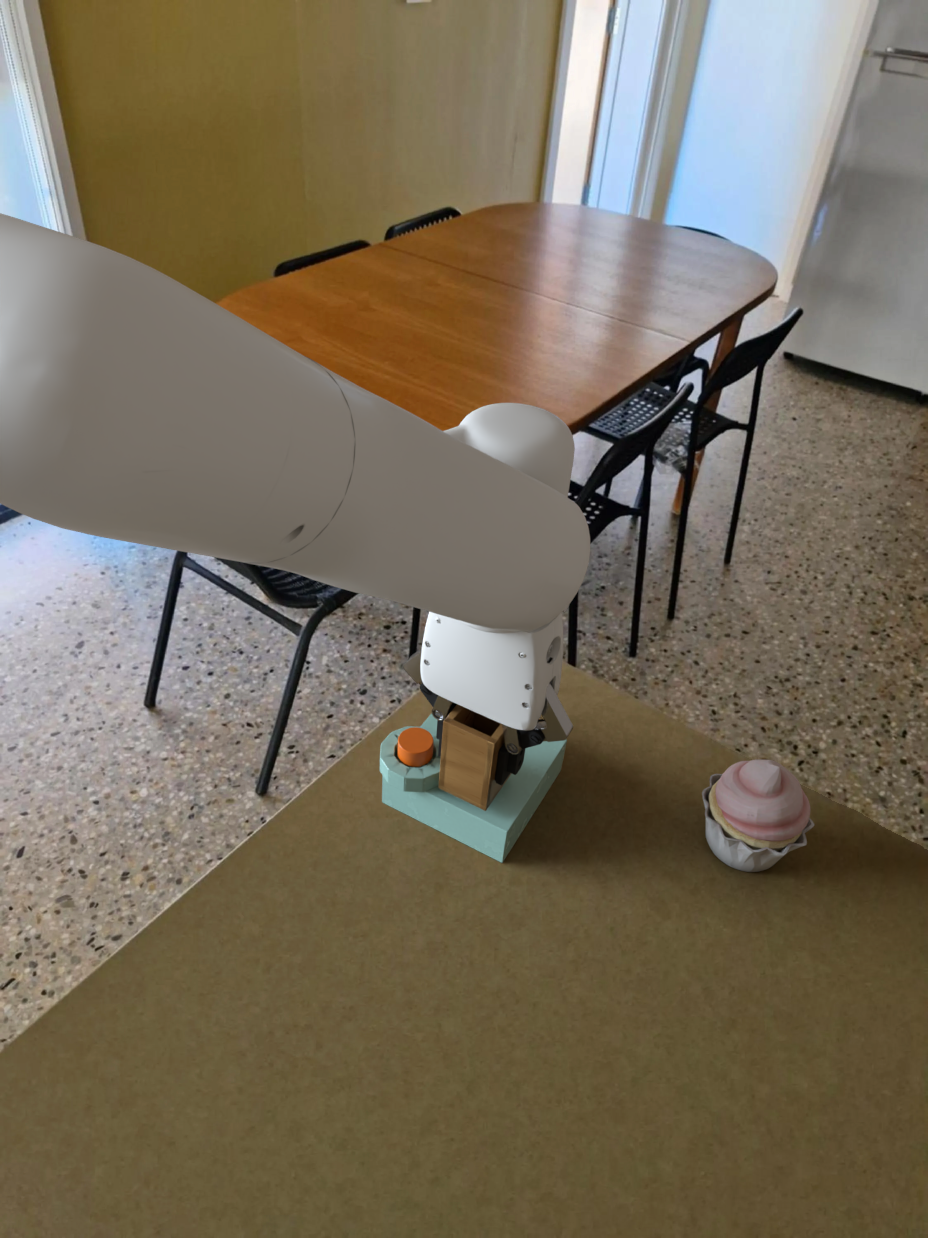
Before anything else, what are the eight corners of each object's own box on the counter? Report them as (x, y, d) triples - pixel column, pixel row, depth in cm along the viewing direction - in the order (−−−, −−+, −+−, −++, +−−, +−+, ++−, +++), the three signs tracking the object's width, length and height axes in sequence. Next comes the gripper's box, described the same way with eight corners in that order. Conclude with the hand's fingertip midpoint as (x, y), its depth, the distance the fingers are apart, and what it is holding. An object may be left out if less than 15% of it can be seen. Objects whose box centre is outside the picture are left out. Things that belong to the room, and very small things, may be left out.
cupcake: (795, 904, 73) (836, 828, 67) (682, 870, 75) (711, 793, 69) (798, 818, 80) (835, 742, 74) (694, 789, 82) (722, 713, 76)
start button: (421, 772, 74) (421, 758, 73) (390, 758, 75) (391, 743, 74) (439, 750, 76) (440, 736, 75) (409, 736, 77) (410, 722, 76)
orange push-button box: (497, 871, 74) (504, 826, 70) (366, 805, 78) (366, 759, 74) (560, 770, 83) (570, 725, 79) (440, 716, 87) (444, 671, 83)
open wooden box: (485, 811, 72) (494, 744, 67) (437, 788, 74) (443, 721, 69) (513, 771, 76) (523, 705, 71) (467, 750, 77) (473, 683, 72)
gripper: (631, 597, 61) (590, 772, 73) (422, 520, 67) (414, 693, 78) (589, 658, 56) (552, 836, 68) (366, 568, 62) (366, 747, 73)
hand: (478, 758), depth 73 cm, fingers closed on open wooden box, 4 cm apart
